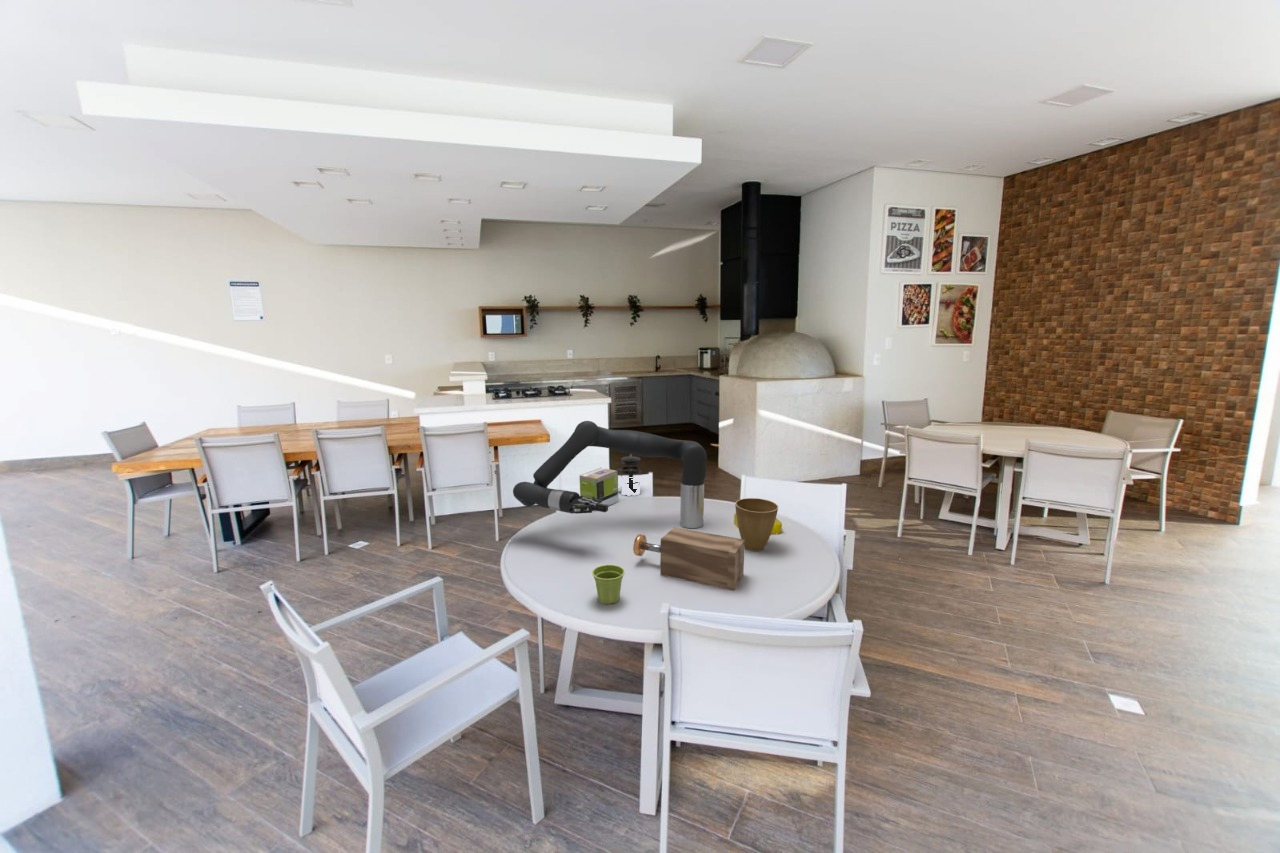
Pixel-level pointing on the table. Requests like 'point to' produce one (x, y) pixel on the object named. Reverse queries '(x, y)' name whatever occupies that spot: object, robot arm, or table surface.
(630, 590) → the table surface
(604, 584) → the plant pot
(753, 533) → the plant pot
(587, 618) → the table surface
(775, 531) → the element tile
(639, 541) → the plunger
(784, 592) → the table surface
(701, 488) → the robot arm
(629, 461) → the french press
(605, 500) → the tea box
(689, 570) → the box
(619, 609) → the table surface
